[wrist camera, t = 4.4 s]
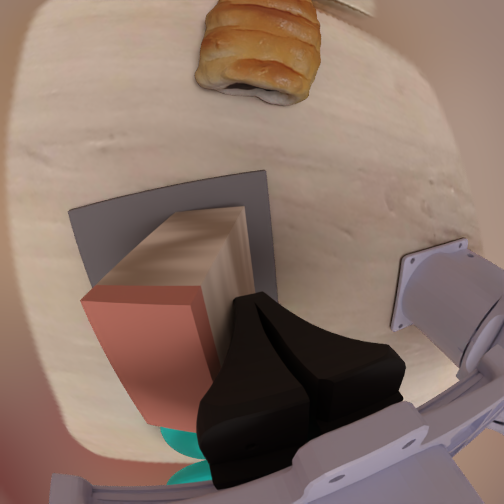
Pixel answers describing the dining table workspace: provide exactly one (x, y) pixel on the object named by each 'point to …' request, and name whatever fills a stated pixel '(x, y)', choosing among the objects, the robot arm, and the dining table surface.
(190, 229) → the block
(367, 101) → the dining table surface
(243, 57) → the pastry
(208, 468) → the donuts
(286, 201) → the dining table surface
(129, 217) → the mat
